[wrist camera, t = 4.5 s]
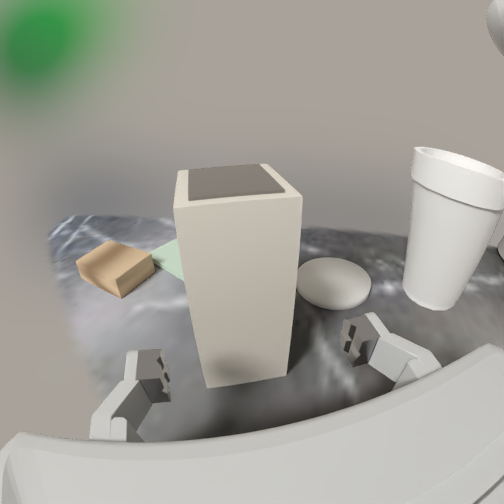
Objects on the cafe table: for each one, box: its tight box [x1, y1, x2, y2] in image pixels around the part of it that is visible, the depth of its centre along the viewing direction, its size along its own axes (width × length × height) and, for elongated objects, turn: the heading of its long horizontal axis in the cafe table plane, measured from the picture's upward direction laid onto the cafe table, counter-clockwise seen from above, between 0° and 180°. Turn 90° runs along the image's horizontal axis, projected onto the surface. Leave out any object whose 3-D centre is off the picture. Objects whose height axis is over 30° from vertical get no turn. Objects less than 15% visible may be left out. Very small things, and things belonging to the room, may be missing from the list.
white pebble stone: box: [296, 257, 371, 310], centre depth 26 cm, size 7×7×1 cm
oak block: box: [76, 240, 155, 299], centre depth 27 cm, size 7×5×2 cm
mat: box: [149, 238, 184, 281], centre depth 31 cm, size 10×10×1 cm
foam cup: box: [402, 147, 504, 310], centre depth 21 cm, size 10×9×13 cm
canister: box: [173, 164, 303, 388], centre depth 17 cm, size 6×5×12 cm
